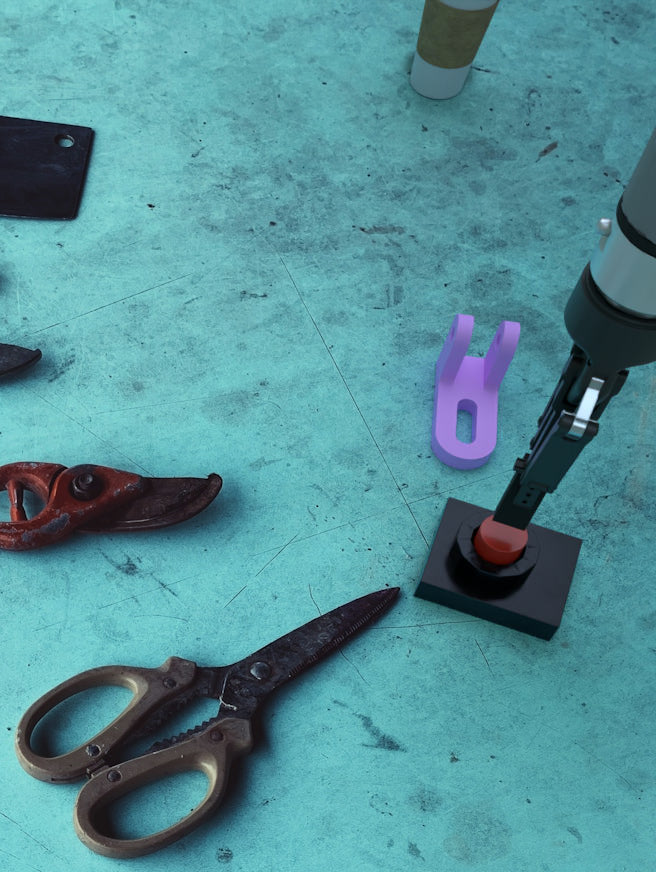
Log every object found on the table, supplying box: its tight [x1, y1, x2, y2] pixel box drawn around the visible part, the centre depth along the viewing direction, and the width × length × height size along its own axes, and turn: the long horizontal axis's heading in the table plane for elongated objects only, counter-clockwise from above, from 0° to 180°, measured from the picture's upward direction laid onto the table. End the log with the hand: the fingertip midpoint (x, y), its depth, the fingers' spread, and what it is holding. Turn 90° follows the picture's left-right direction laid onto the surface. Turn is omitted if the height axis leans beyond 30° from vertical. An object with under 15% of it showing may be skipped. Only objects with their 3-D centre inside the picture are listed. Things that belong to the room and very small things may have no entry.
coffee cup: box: [409, 0, 501, 100], centre depth 128 cm, size 8×8×15 cm
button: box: [474, 515, 528, 565], centre depth 101 cm, size 4×4×2 cm
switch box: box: [412, 496, 584, 642], centre depth 103 cm, size 12×10×4 cm
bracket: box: [430, 313, 521, 471], centre depth 110 cm, size 13×6×7 cm, turn 169°
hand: (510, 519), depth 99 cm, fingers closed
